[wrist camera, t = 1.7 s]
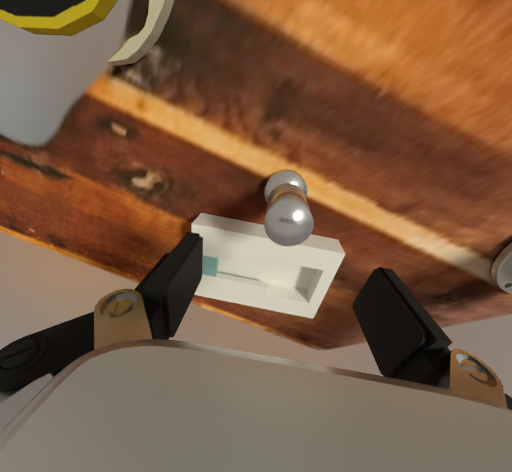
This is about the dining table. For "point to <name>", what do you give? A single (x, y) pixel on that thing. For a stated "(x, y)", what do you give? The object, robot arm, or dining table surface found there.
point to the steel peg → (287, 209)
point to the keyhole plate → (264, 266)
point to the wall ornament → (84, 21)
